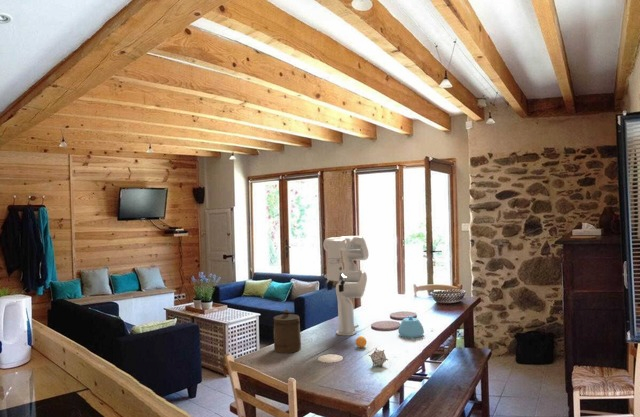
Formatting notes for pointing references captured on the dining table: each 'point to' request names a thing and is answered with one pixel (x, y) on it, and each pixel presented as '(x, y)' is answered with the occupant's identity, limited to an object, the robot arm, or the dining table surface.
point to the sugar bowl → (411, 328)
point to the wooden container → (287, 333)
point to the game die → (378, 357)
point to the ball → (361, 341)
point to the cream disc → (330, 358)
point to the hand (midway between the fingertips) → (335, 290)
